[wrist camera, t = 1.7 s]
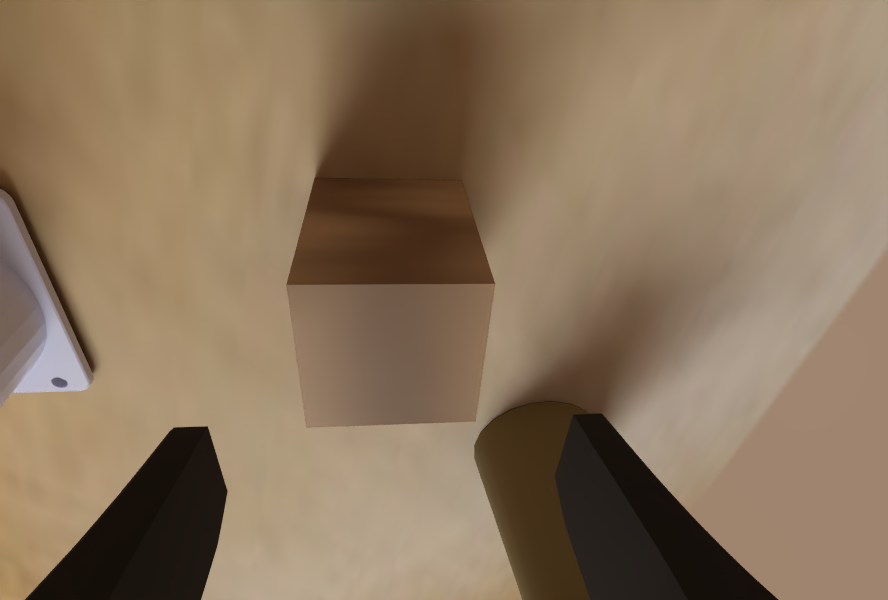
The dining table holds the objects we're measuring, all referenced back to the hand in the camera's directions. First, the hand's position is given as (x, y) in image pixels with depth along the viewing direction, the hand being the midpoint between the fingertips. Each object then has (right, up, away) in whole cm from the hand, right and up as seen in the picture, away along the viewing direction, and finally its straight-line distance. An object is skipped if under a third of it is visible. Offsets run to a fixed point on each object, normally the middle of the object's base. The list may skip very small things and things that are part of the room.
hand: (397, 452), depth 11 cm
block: (-1, +5, +7) cm, 9 cm away
